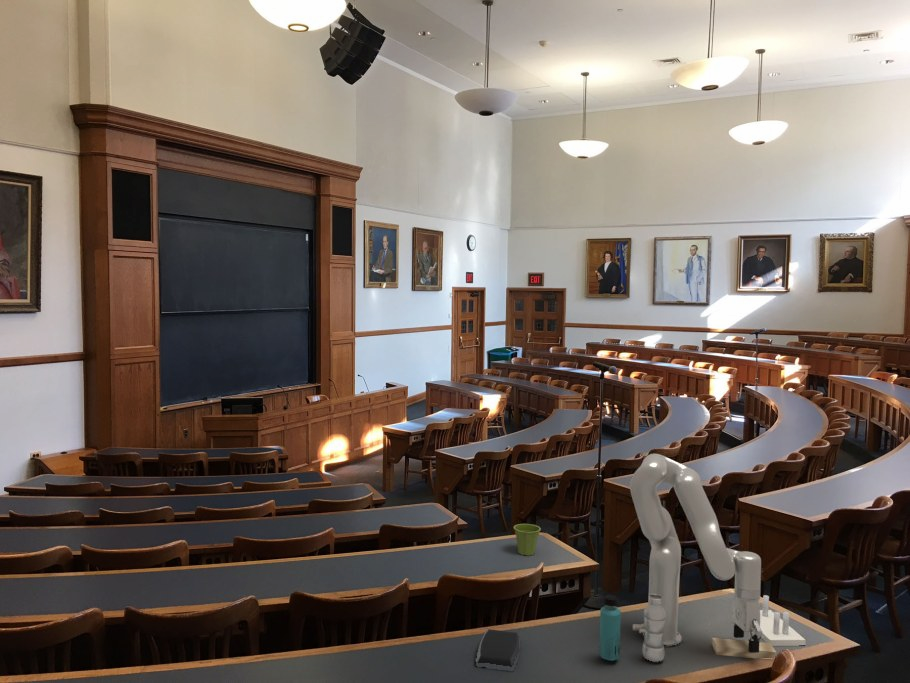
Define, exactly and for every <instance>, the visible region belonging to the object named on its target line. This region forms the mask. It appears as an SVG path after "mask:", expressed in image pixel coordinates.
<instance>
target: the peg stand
mask: <svg viewBox="0 0 910 683" xmlns="http://www.w3.org/2000/svg"><path fill="white" fill-rule="evenodd" d="M769 600H770V596H769V595H766V594H764V595H763V597H762V609H760V628H761V630H762V635H761V639H762V640H763V641H764V642H765V643H771V645H772V646H773V647H800V646H799V645H805V646H806V643H807V642H806V639H805V638H804V637H803V636H801V634H799V633H798V632H797V631H796V630H795V629H793V628H792V627H791V626H790V625H789V624H790V612H788V611H783V613H782V614H783V615H782V618H781V613H780V612H779V611H773V610H771V609H769V603H770V601H769ZM759 605H760V606H761V599H760V600H759ZM751 630H754V629H753V628H751Z"/></svg>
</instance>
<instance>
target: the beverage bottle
mask: <svg viewBox="0 0 910 683" xmlns="http://www.w3.org/2000/svg"><path fill="white" fill-rule="evenodd" d="M618 602H619V601H618V597H617V596H616V595H614V594H607V595H604V599H603V603H604V606H603V607H601V608H600V614H599V617H600V618H599V634H598V635H599V639H598V643H599V644H598V655H599V657H600V658H602V659H603V660H607V661H615V660H616V661H617V660H618V659H619V658H620V652H621V616H622V612H621V610H620V609H619V608H618V607H617V606H618V605H619V603H618Z"/></svg>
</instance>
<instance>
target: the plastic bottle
mask: <svg viewBox="0 0 910 683" xmlns="http://www.w3.org/2000/svg"><path fill="white" fill-rule="evenodd" d="M648 598H649V604H648V603H647V606H645V608H644V610H643V619H644V620H643V622H644V621H645V637H643V644H642V650H641V652H642V653H641V654H642V656H643V658H644V659H647V660H646V661H648V660H649V662H651V661H652V662H651V663H660V662H662V661H663V660H664V657H665V654H666V652H665V646H663V630H664V623H665V618H666V614H665V611H664V609H663V607H662V606H661V604H662V597H661V596H659V595H655V594H652V595H650V596H649V595H648ZM659 661H660V662H659Z"/></svg>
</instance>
